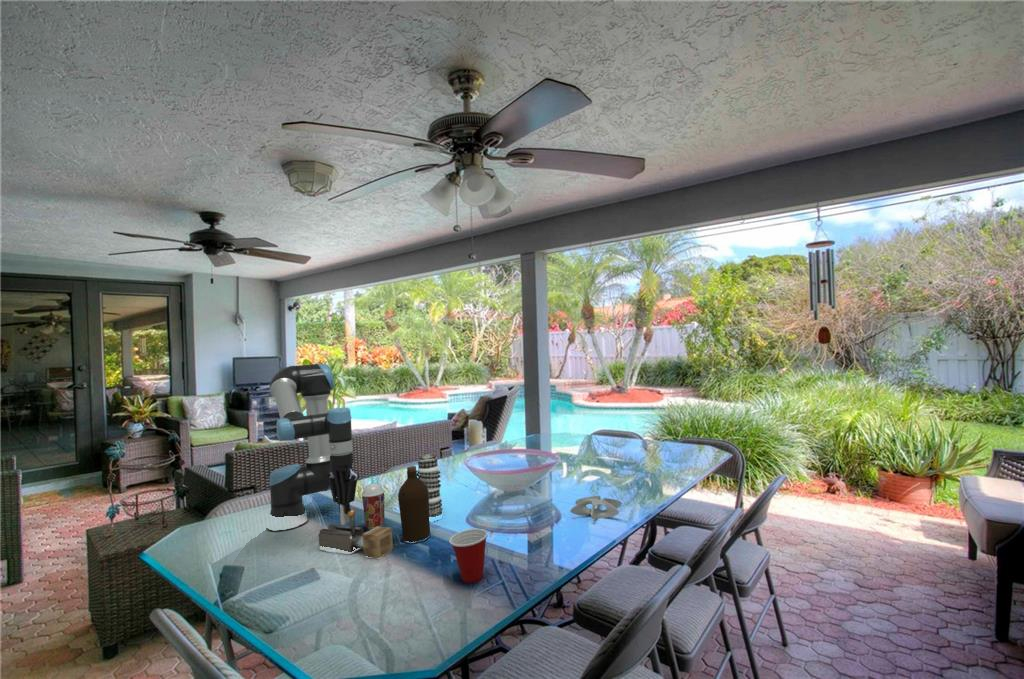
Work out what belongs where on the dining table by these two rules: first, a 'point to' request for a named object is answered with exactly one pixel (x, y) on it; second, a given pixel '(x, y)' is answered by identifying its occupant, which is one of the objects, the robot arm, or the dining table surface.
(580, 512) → the sculpture
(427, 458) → the decorative candle
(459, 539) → the plastic cup
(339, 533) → the outer sleeve
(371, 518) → the smoothie
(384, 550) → the socket block
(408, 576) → the dining table surface
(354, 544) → the ball knob lever
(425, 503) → the olive oil
